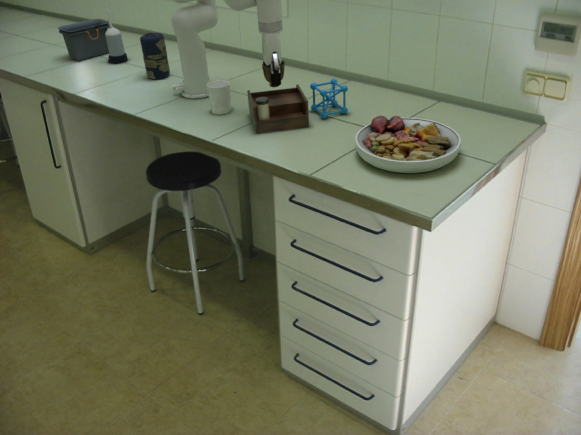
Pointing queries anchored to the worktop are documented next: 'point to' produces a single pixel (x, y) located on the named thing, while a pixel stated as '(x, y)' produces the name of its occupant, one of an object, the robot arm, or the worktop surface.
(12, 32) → the worktop surface
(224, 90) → the white cup
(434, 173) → the worktop surface
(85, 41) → the storage bin
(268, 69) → the brown hollow bell-shaped piece
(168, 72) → the canister
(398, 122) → the bowl
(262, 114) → the spice jar
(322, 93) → the molecular structure
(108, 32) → the humidifier
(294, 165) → the worktop surface
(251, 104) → the spice rack
